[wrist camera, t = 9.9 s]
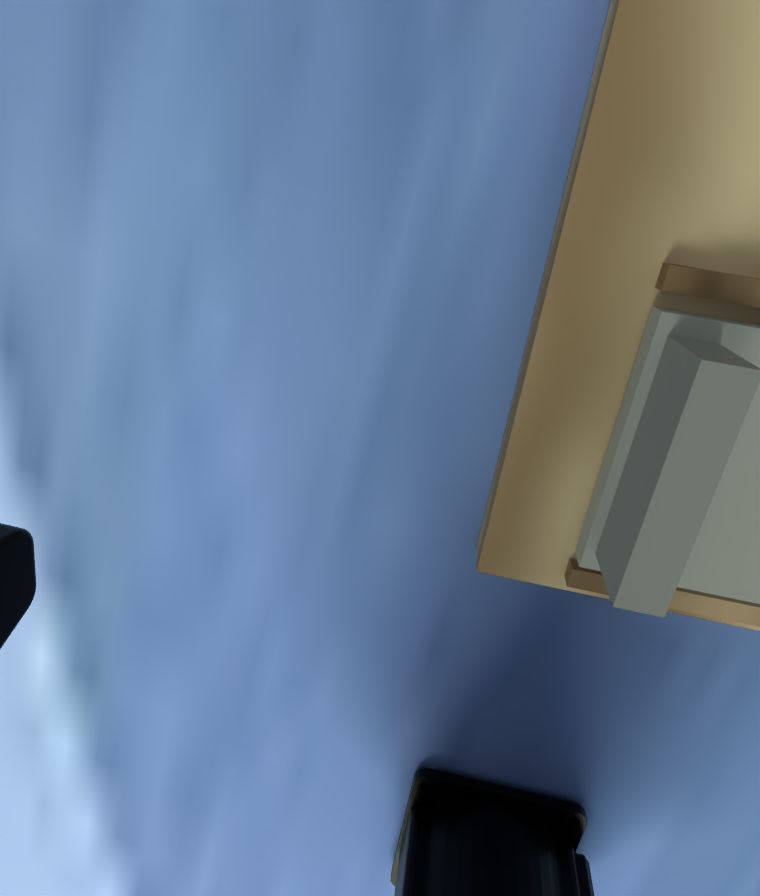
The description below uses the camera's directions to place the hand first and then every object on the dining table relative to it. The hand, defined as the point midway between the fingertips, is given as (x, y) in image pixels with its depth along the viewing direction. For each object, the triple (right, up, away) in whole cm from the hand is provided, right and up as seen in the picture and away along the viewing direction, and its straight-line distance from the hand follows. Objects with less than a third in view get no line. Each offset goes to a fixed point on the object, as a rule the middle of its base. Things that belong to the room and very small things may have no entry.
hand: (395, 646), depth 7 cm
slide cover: (+9, +2, +9) cm, 13 cm away
